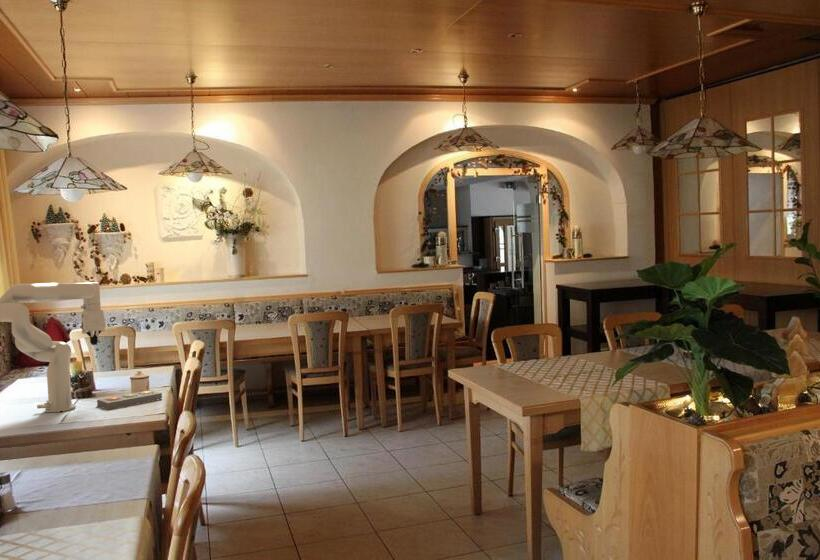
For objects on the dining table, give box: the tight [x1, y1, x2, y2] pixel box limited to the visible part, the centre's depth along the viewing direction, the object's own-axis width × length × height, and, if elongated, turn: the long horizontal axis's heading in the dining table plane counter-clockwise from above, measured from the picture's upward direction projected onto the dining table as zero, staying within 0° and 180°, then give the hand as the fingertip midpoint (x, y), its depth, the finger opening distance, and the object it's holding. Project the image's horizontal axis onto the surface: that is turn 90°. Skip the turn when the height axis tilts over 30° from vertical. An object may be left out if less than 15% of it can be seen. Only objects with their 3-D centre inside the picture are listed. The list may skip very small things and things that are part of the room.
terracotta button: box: [107, 396, 119, 401], centre depth 326 cm, size 5×5×3 cm
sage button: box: [123, 393, 136, 398], centre depth 332 cm, size 5×5×3 cm
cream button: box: [141, 391, 152, 395], centre depth 338 cm, size 5×5×3 cm
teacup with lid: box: [129, 370, 150, 394], centre depth 353 cm, size 12×9×12 cm
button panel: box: [96, 389, 163, 411], centre depth 332 cm, size 26×12×3 cm, turn 137°
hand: (94, 344), depth 340 cm, fingers closed
